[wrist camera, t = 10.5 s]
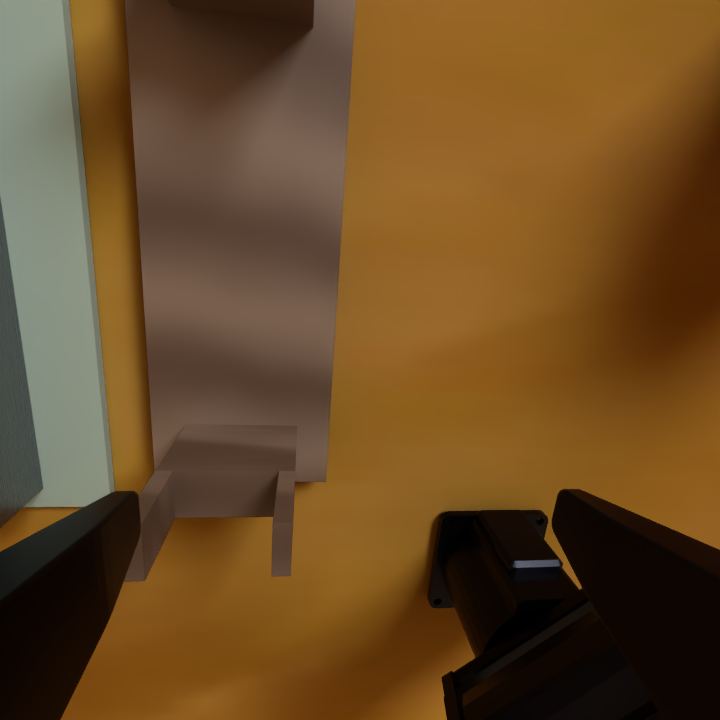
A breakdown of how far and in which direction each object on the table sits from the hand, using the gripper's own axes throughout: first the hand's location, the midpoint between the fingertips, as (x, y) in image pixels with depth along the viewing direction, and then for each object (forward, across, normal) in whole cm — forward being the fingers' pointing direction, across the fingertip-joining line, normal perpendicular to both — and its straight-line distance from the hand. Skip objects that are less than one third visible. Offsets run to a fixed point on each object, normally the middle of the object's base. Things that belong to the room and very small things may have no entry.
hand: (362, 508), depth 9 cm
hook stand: (+12, +4, -5) cm, 14 cm away
